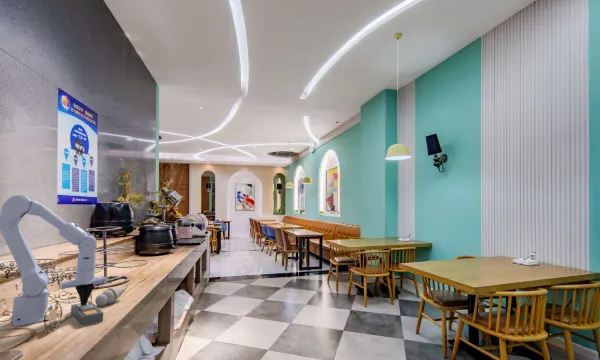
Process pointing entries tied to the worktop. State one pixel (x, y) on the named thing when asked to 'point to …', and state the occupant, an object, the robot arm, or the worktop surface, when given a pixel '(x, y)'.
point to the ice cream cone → (109, 296)
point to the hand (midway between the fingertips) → (83, 305)
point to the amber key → (90, 312)
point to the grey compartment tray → (86, 319)
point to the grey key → (86, 307)
